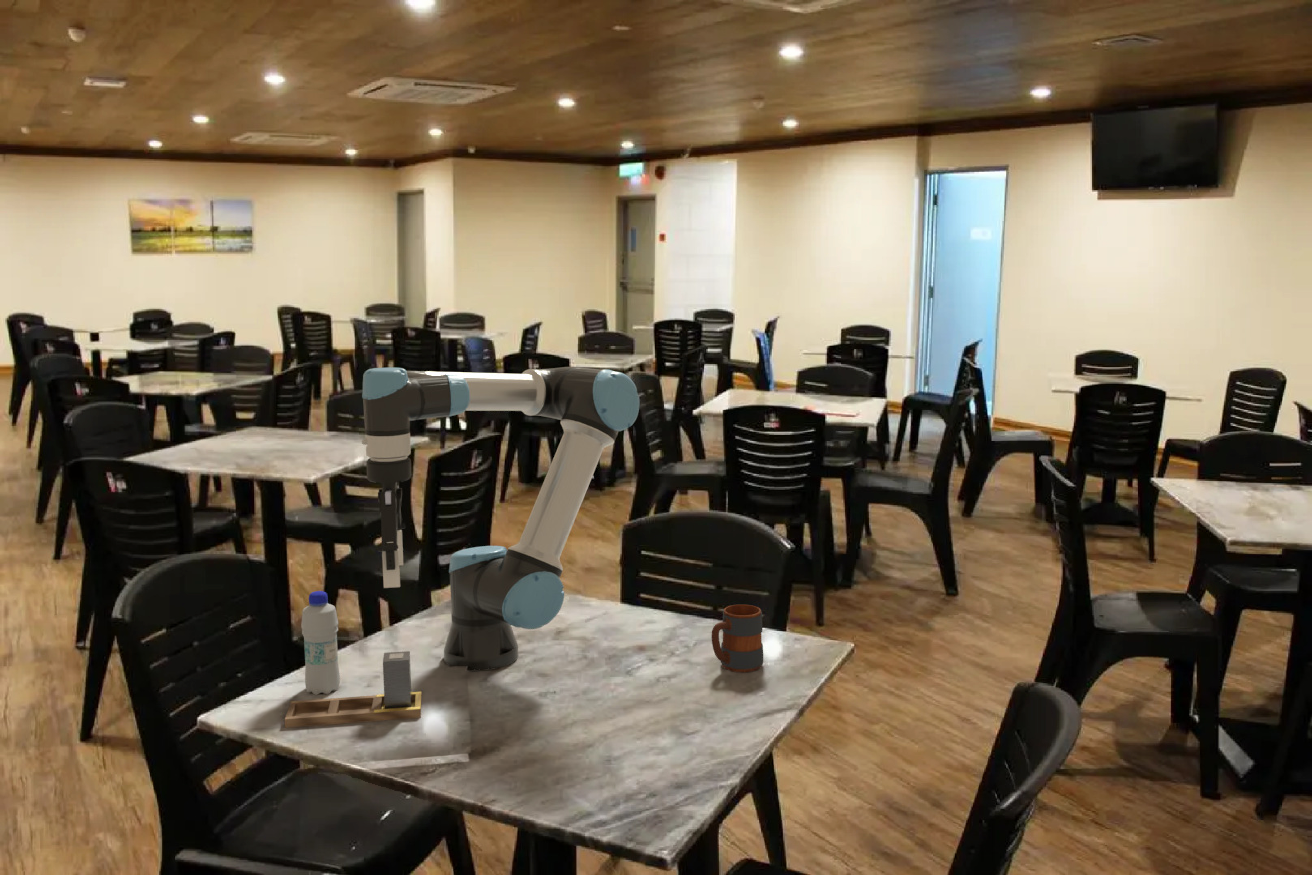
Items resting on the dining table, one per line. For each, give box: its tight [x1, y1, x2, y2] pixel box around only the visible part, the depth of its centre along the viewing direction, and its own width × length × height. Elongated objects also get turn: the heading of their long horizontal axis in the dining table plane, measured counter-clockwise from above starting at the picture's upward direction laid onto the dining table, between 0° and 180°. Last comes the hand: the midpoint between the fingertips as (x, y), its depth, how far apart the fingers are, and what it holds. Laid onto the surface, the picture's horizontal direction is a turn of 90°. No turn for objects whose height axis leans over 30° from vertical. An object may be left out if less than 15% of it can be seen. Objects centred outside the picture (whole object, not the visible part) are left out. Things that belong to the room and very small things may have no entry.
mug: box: [711, 604, 764, 674], centre depth 221 cm, size 9×12×12 cm
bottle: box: [300, 590, 341, 696], centre depth 208 cm, size 7×7×20 cm
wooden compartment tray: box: [284, 691, 423, 728], centre depth 198 cm, size 23×8×3 cm, turn 101°
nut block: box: [382, 650, 412, 709], centre depth 198 cm, size 4×4×10 cm
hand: (393, 575), depth 195 cm, fingers open, 13 cm apart
